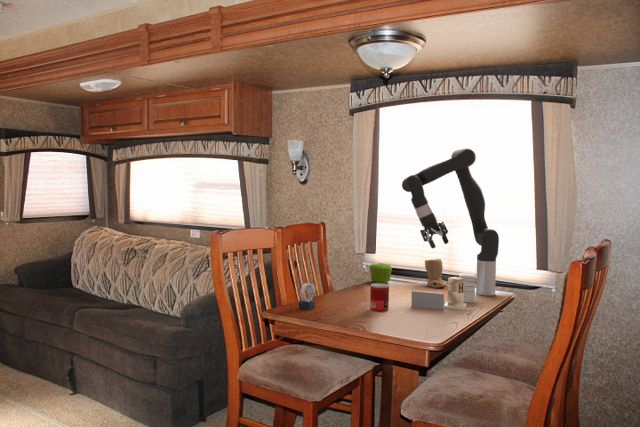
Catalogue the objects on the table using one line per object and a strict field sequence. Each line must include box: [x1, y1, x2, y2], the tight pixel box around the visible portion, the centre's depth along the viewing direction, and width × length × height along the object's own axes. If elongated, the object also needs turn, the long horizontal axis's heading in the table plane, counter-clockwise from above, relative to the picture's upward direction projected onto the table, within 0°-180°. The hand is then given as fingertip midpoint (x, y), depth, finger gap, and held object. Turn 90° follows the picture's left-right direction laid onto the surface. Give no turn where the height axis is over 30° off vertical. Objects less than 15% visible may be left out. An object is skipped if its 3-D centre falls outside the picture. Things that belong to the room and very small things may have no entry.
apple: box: [369, 262, 393, 284], centre depth 293 cm, size 12×12×11 cm
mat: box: [444, 301, 467, 311], centre depth 234 cm, size 9×9×1 cm
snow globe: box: [298, 282, 316, 311], centre depth 227 cm, size 6×8×11 cm
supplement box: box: [458, 272, 476, 303], centre depth 248 cm, size 7×7×13 cm
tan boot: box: [424, 258, 447, 289], centre depth 285 cm, size 15×12×15 cm
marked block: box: [447, 276, 465, 306], centre depth 234 cm, size 5×5×12 cm
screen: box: [410, 290, 445, 310], centre depth 232 cm, size 2×14×7 cm, turn 70°
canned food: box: [369, 282, 390, 313], centre depth 227 cm, size 8×8×11 cm
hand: (440, 245), depth 248 cm, fingers open, 8 cm apart
